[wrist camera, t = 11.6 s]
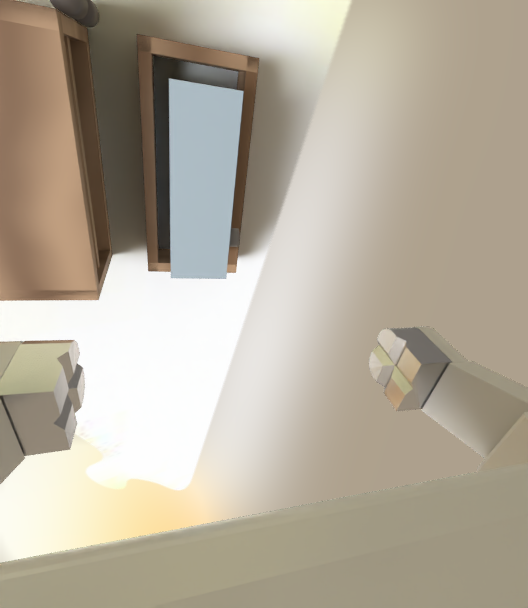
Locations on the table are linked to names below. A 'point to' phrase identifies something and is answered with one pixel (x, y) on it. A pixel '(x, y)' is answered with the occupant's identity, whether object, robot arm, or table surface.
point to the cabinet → (78, 150)
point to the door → (202, 177)
